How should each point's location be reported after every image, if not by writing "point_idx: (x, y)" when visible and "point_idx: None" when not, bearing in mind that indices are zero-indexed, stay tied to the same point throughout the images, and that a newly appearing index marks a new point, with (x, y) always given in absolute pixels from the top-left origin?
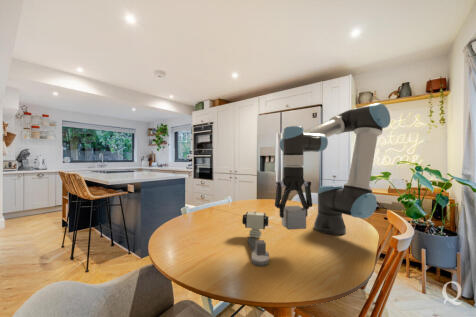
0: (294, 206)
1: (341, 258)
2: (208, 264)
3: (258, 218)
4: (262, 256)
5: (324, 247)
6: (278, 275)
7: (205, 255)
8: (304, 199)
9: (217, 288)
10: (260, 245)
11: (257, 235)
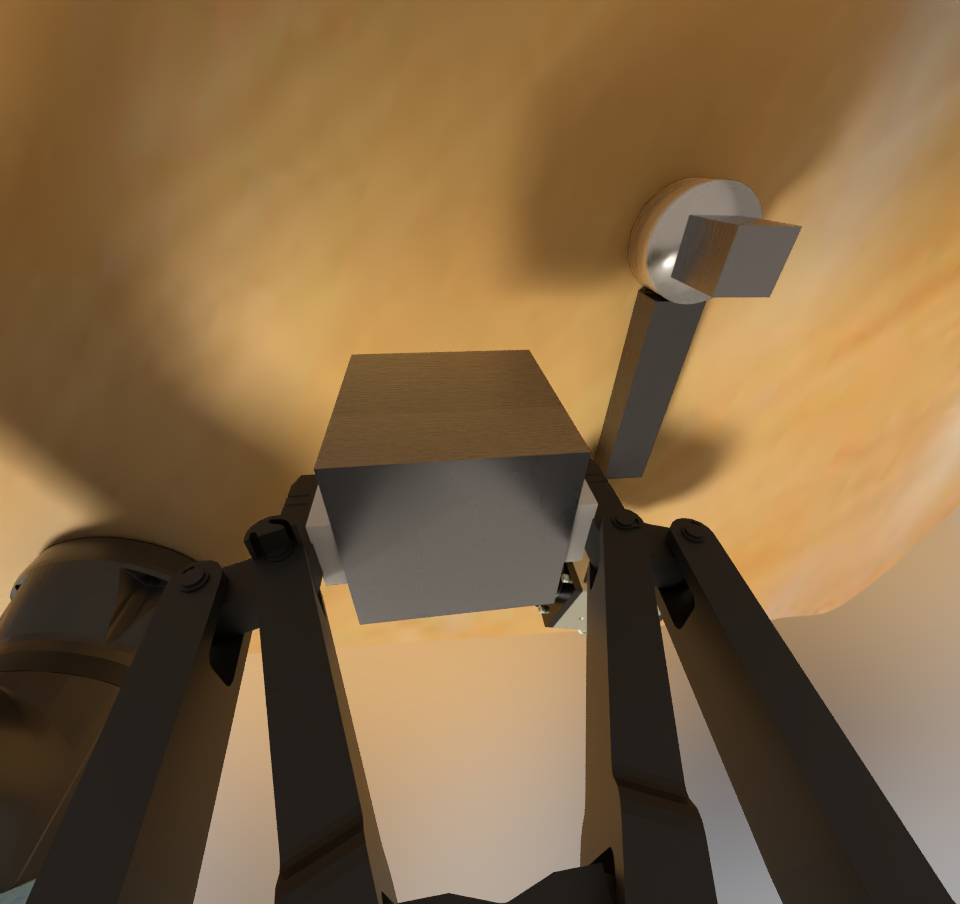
0: (418, 601)
1: (125, 236)
2: (937, 238)
3: None
4: (718, 196)
5: (218, 394)
6: (658, 30)
7: (889, 336)
8: (281, 666)
9: None
10: (767, 225)
11: None
